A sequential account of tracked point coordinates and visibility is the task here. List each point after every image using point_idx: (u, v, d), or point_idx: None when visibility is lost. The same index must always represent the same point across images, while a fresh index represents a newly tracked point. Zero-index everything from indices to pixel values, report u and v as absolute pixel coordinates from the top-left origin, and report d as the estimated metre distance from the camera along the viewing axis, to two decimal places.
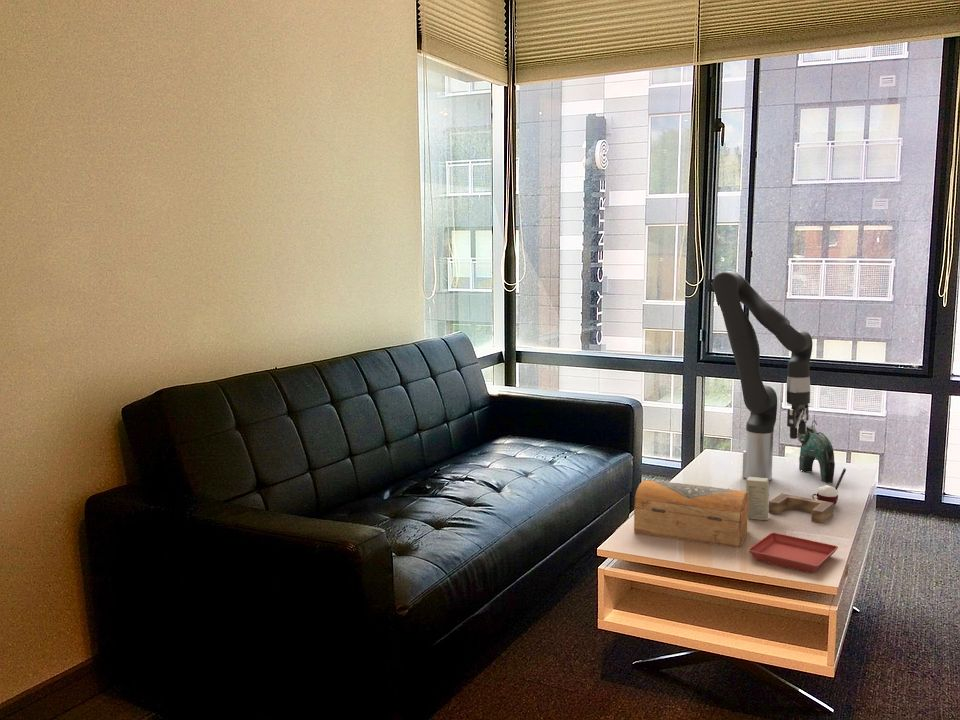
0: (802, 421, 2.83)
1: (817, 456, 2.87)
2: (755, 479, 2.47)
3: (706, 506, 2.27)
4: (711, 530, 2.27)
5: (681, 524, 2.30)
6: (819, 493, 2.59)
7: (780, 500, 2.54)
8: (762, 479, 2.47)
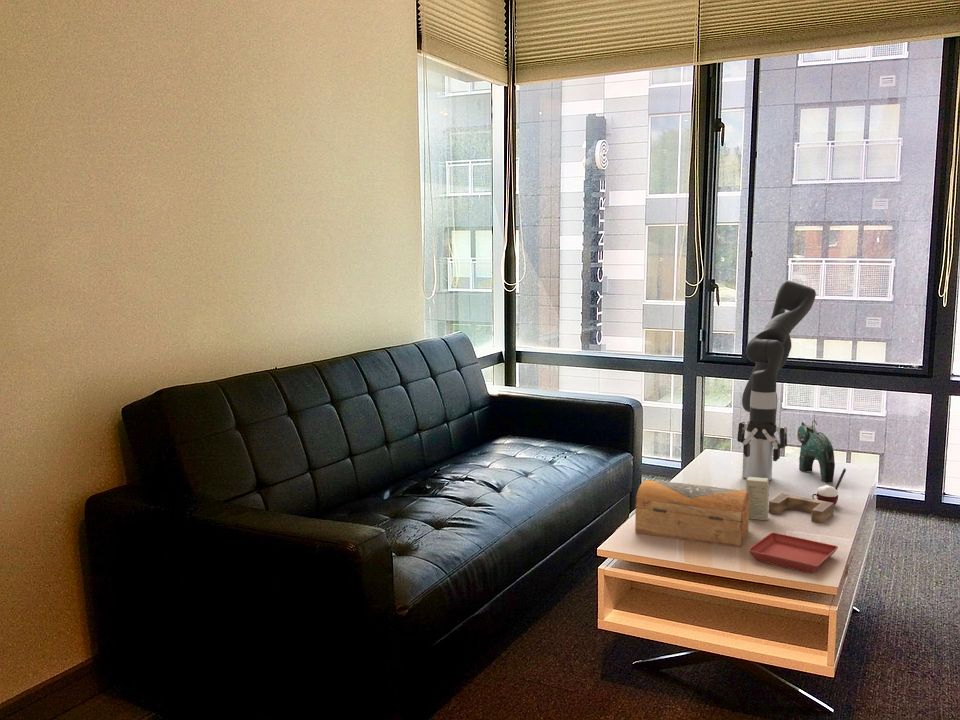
0: (748, 442, 2.48)
1: (817, 456, 2.87)
2: (755, 479, 2.47)
3: (708, 506, 2.27)
4: (712, 530, 2.27)
5: (683, 524, 2.30)
6: (819, 493, 2.59)
7: (780, 500, 2.54)
8: (762, 479, 2.47)
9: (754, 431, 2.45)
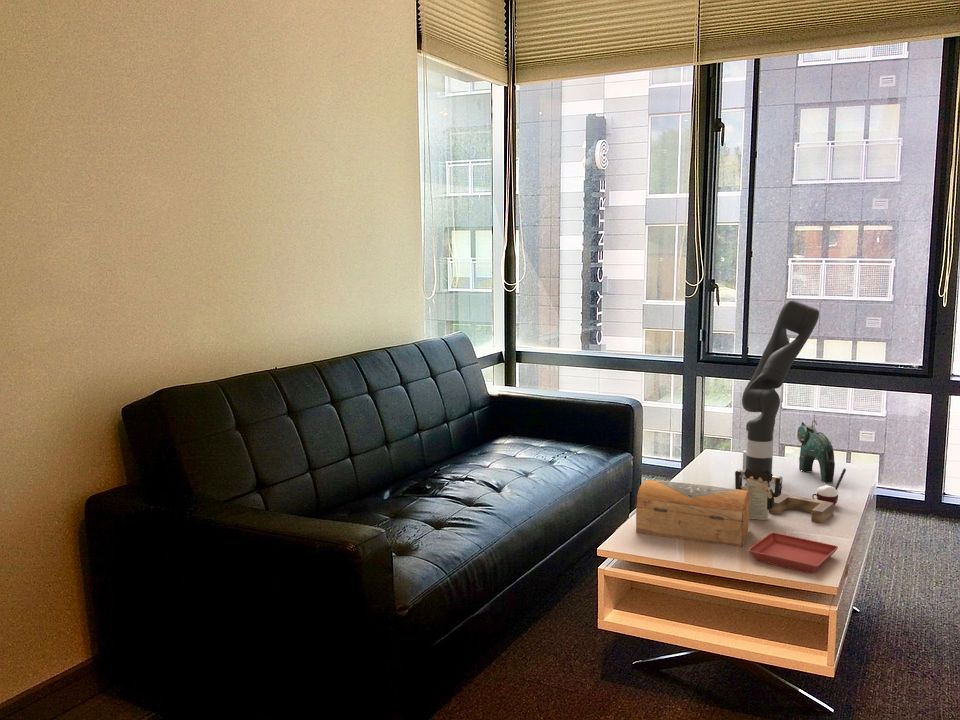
0: None
1: (817, 456, 2.87)
2: (755, 479, 2.47)
3: (708, 506, 2.27)
4: (713, 529, 2.27)
5: (683, 523, 2.31)
6: (819, 493, 2.59)
7: (780, 500, 2.54)
8: None
9: (750, 479, 2.47)
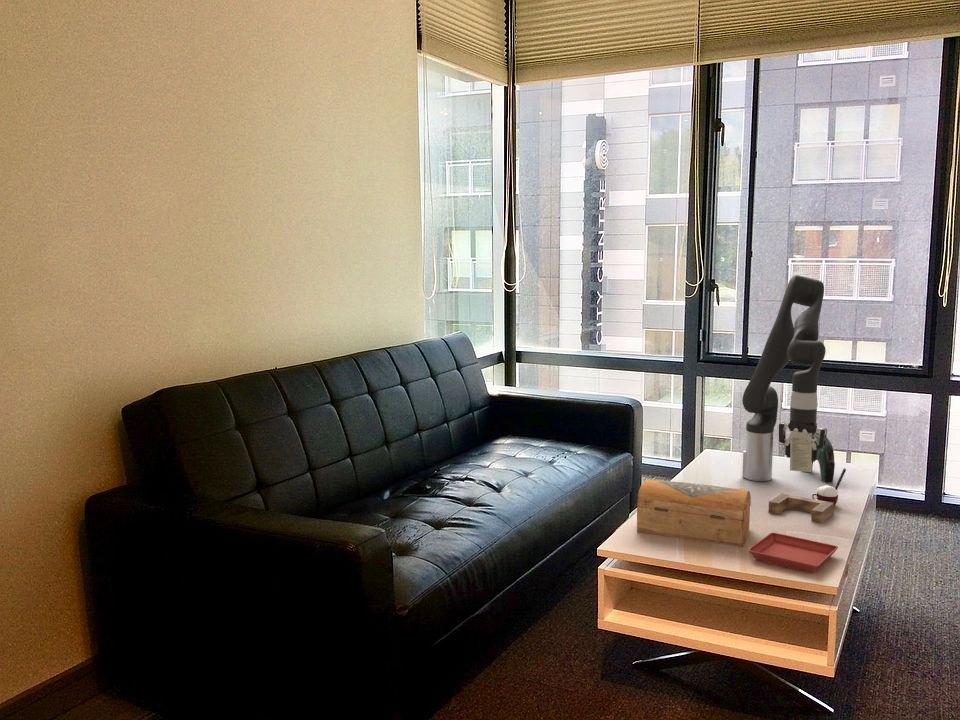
0: (789, 442, 2.51)
1: None
2: (799, 431, 2.48)
3: (709, 505, 2.28)
4: (713, 528, 2.28)
5: (684, 523, 2.31)
6: (819, 493, 2.59)
7: (780, 500, 2.54)
8: None
9: (795, 431, 2.48)
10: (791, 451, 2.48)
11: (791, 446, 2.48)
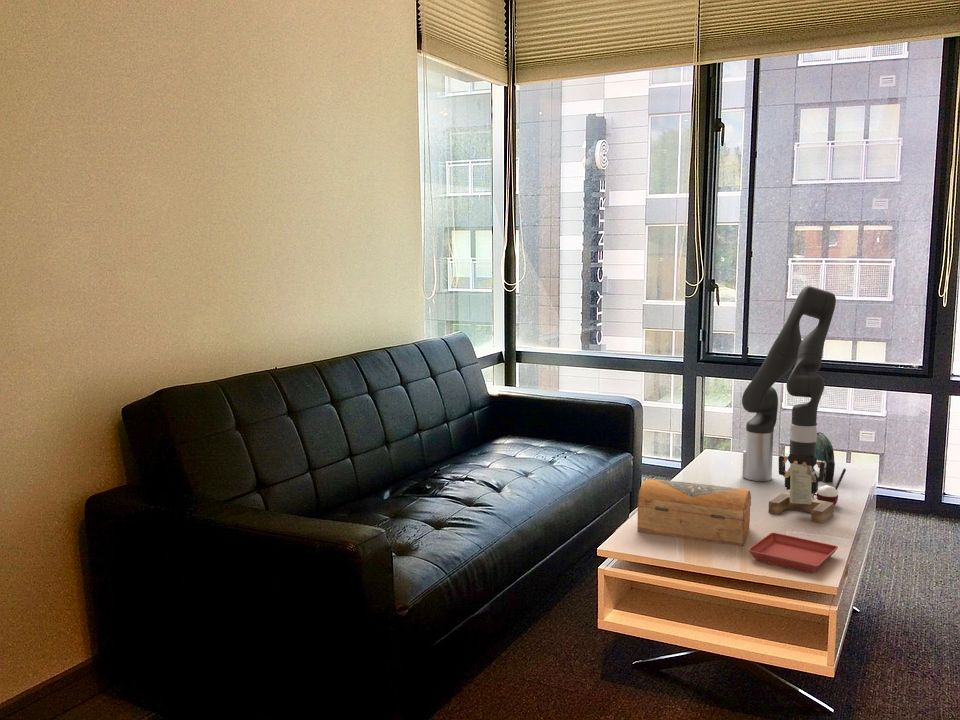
0: (789, 475, 2.52)
1: (817, 456, 2.87)
2: (799, 464, 2.49)
3: (710, 505, 2.28)
4: (714, 528, 2.28)
5: (685, 522, 2.31)
6: (819, 493, 2.59)
7: (780, 500, 2.54)
8: None
9: None
10: (791, 483, 2.49)
11: (791, 478, 2.49)
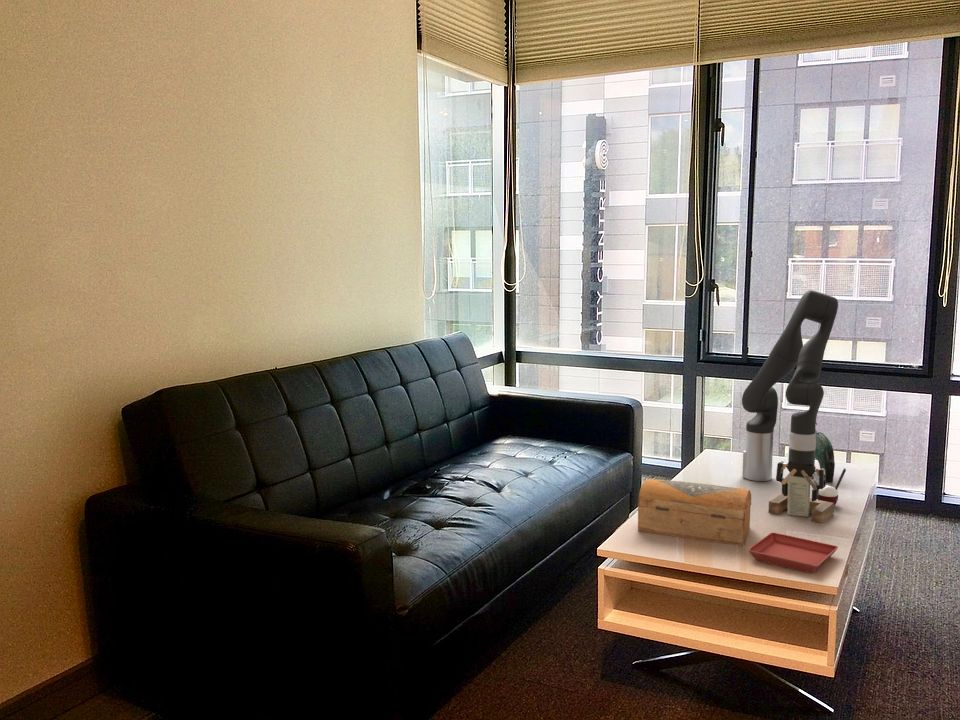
0: (786, 481, 2.53)
1: (817, 456, 2.87)
2: None
3: (710, 504, 2.28)
4: (714, 528, 2.28)
5: (685, 522, 2.32)
6: (819, 493, 2.59)
7: (780, 500, 2.54)
8: None
9: (793, 471, 2.49)
10: (788, 495, 2.50)
11: (788, 491, 2.50)
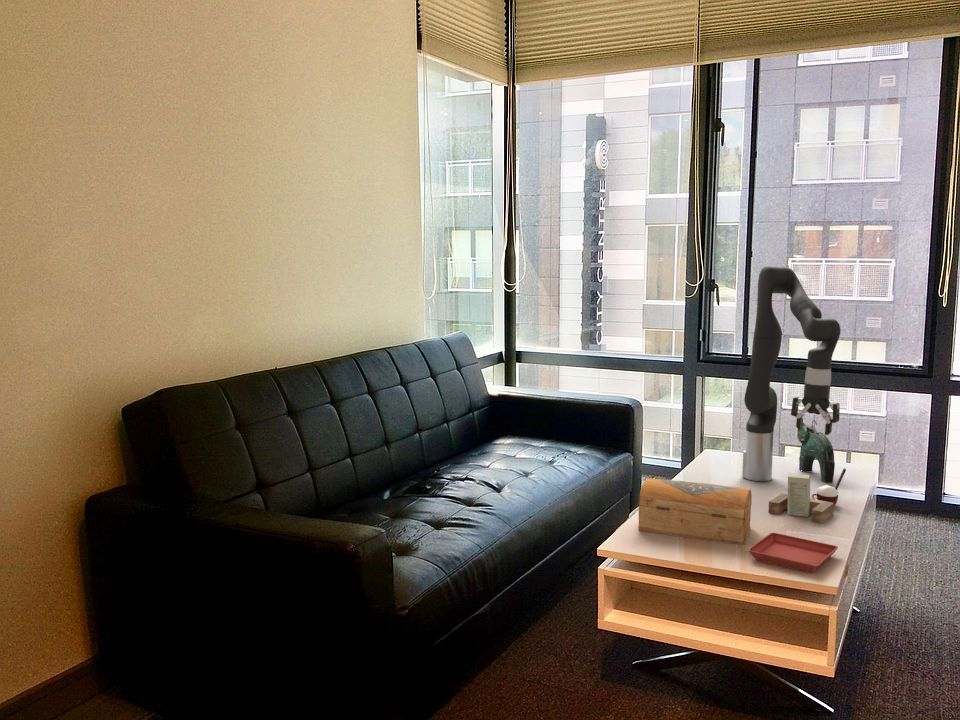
0: None
1: (817, 456, 2.87)
2: (797, 476, 2.50)
3: (711, 504, 2.29)
4: (715, 527, 2.29)
5: (686, 521, 2.32)
6: (819, 493, 2.59)
7: (780, 500, 2.54)
8: (804, 476, 2.49)
9: (808, 406, 2.57)
10: (788, 496, 2.50)
11: (788, 491, 2.50)
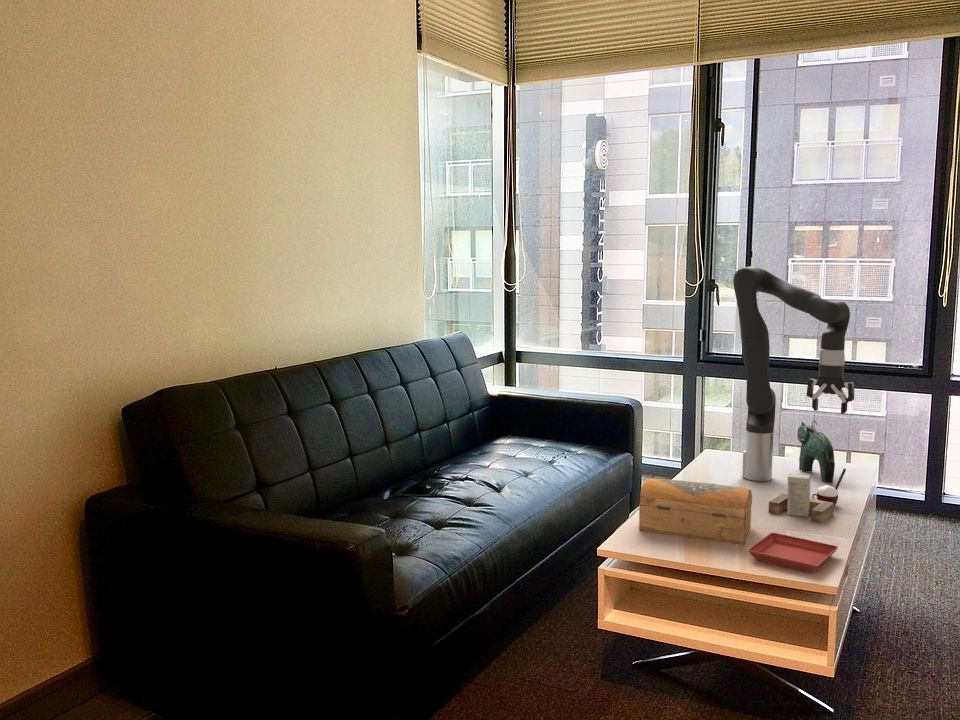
0: (816, 397, 2.69)
1: (817, 456, 2.87)
2: (797, 476, 2.50)
3: (711, 503, 2.29)
4: (716, 527, 2.29)
5: (686, 521, 2.32)
6: (819, 493, 2.59)
7: (780, 500, 2.54)
8: (804, 476, 2.49)
9: (823, 386, 2.65)
10: (788, 496, 2.50)
11: (788, 491, 2.50)
